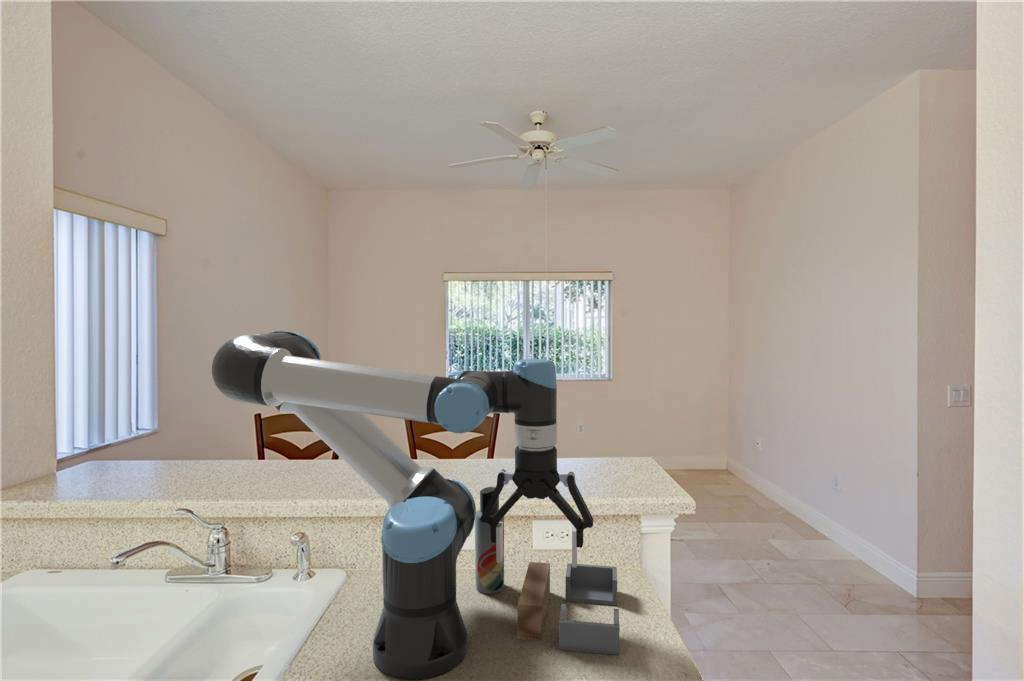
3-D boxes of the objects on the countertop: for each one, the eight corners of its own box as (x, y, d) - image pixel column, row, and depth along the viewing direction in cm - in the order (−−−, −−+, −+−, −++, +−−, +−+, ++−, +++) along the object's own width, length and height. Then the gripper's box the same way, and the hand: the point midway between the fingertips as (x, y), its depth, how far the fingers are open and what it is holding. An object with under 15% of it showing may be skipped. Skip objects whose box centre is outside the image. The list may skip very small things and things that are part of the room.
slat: (517, 638, 96) (517, 604, 95) (529, 591, 112) (529, 561, 111) (541, 641, 95) (541, 606, 95) (549, 593, 111) (549, 563, 111)
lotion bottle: (500, 595, 109) (500, 494, 108) (472, 592, 111) (471, 492, 109) (506, 581, 115) (506, 484, 114) (479, 579, 116) (479, 483, 115)
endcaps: (559, 650, 92) (559, 622, 92) (567, 586, 113) (567, 563, 113) (619, 656, 91) (619, 627, 90) (616, 590, 111) (616, 566, 111)
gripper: (462, 449, 100) (464, 566, 101) (606, 453, 96) (606, 575, 97) (472, 439, 107) (474, 549, 108) (606, 442, 103) (606, 556, 104)
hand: (536, 562), depth 103 cm, fingers open, 13 cm apart
